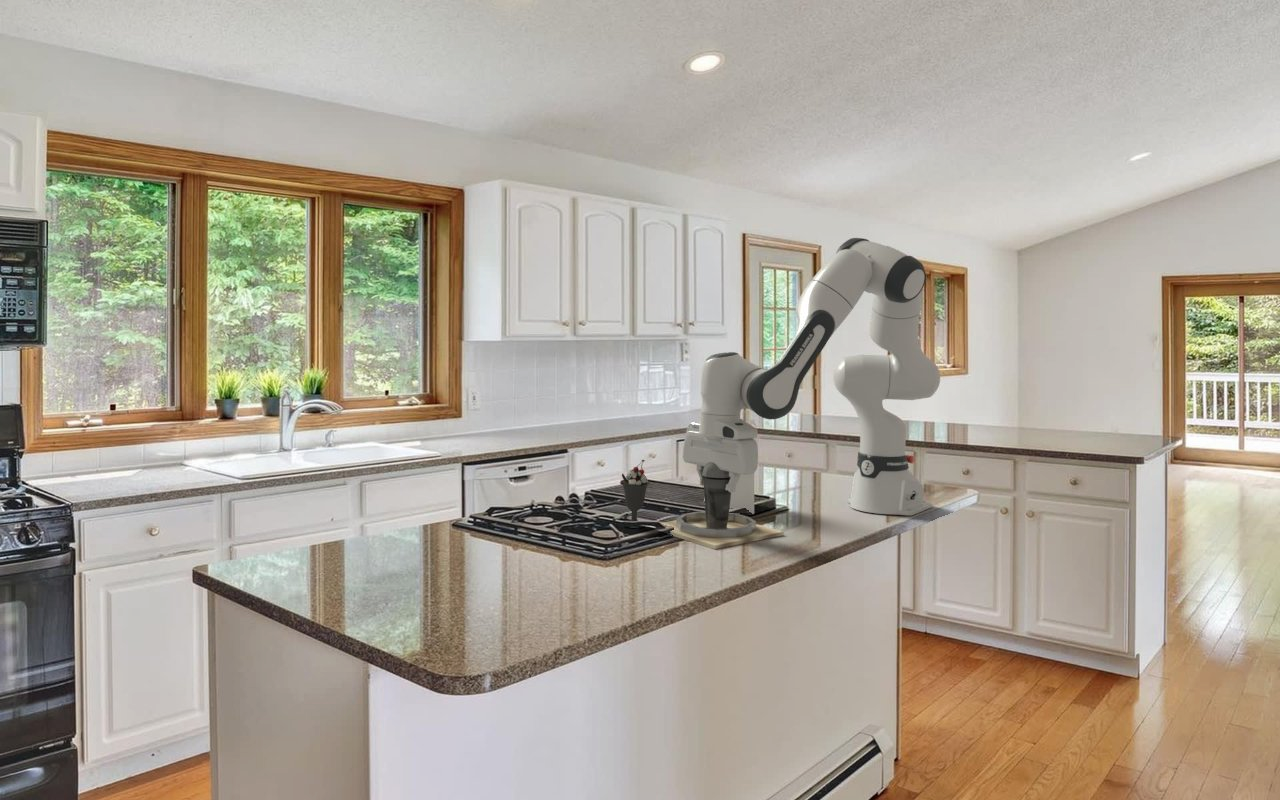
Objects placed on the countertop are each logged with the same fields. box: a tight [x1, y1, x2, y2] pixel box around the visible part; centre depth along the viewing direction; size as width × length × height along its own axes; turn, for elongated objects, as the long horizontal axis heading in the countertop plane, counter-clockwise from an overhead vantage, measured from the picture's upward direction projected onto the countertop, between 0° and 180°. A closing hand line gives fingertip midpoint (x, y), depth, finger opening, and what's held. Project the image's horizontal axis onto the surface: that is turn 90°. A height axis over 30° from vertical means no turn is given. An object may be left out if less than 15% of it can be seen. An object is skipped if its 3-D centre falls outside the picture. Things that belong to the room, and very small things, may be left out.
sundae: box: [619, 459, 650, 522], centre depth 194 cm, size 7×7×15 cm
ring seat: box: [661, 511, 785, 550], centre depth 191 cm, size 21×21×3 cm
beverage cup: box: [702, 462, 731, 529], centre depth 190 cm, size 7×7×20 cm
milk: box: [703, 438, 755, 515], centre depth 215 cm, size 12×12×26 cm
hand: (717, 488), depth 190 cm, fingers closed on beverage cup, 7 cm apart
